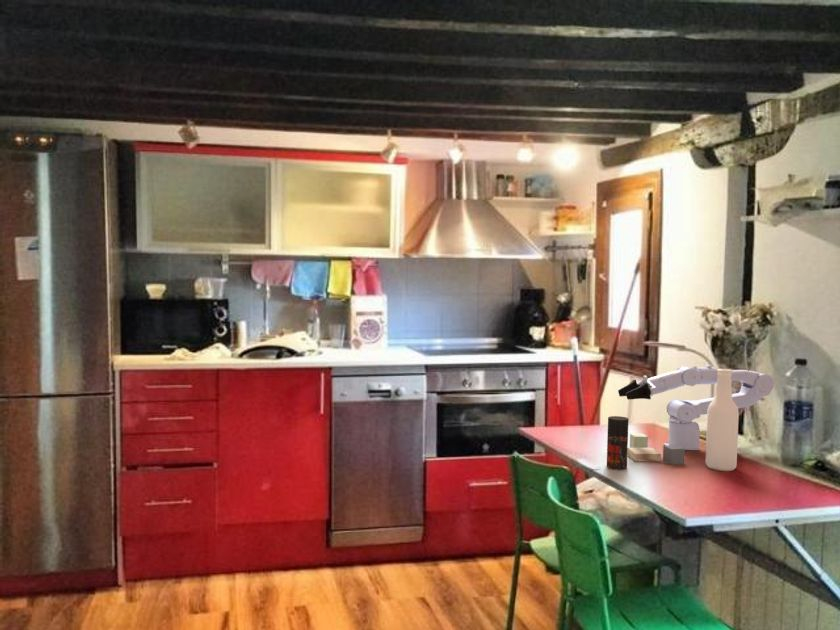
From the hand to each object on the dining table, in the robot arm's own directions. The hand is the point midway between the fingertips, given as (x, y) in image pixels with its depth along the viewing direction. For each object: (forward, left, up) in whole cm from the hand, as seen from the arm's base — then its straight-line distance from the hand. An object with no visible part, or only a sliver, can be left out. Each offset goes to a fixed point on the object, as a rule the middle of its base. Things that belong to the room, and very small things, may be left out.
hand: (622, 394), depth 253 cm
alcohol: (-23, +24, -18) cm, 38 cm away
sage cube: (-5, +2, -18) cm, 19 cm away
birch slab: (-3, +13, -18) cm, 22 cm away
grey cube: (-11, +19, -18) cm, 28 cm away
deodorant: (+9, +24, -18) cm, 31 cm away
